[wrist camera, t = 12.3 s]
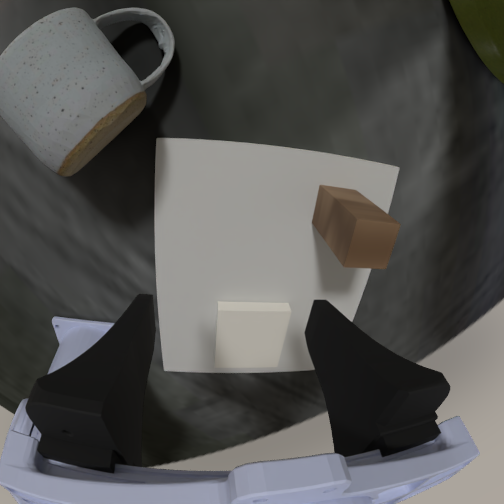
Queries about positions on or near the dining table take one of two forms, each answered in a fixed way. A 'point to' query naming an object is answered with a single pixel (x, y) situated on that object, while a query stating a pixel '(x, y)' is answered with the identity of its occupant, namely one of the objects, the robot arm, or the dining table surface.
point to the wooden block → (354, 228)
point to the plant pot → (484, 30)
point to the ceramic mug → (74, 85)
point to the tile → (250, 334)
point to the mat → (249, 241)
